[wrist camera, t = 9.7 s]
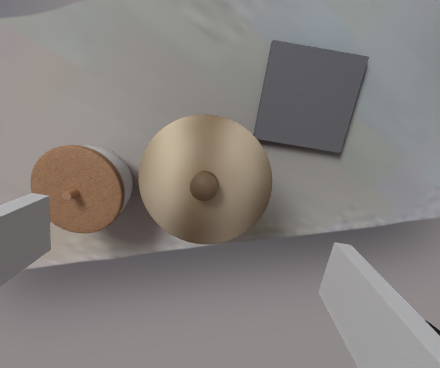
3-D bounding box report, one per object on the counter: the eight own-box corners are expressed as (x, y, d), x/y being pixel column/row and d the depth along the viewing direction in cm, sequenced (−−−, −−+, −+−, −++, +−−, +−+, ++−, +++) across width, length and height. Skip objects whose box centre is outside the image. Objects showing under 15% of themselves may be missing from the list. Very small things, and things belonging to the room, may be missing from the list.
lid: (279, 127, 23) (290, 128, 19) (252, 238, 26) (257, 260, 22) (155, 104, 23) (139, 101, 19) (143, 219, 26) (128, 238, 22)
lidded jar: (157, 190, 36) (134, 214, 27) (100, 222, 37) (59, 255, 28) (115, 125, 33) (74, 128, 24) (56, 162, 35) (-4, 177, 26)
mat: (364, 58, 30) (369, 56, 29) (337, 152, 33) (340, 153, 33) (271, 42, 30) (273, 40, 29) (252, 138, 33) (253, 138, 32)
